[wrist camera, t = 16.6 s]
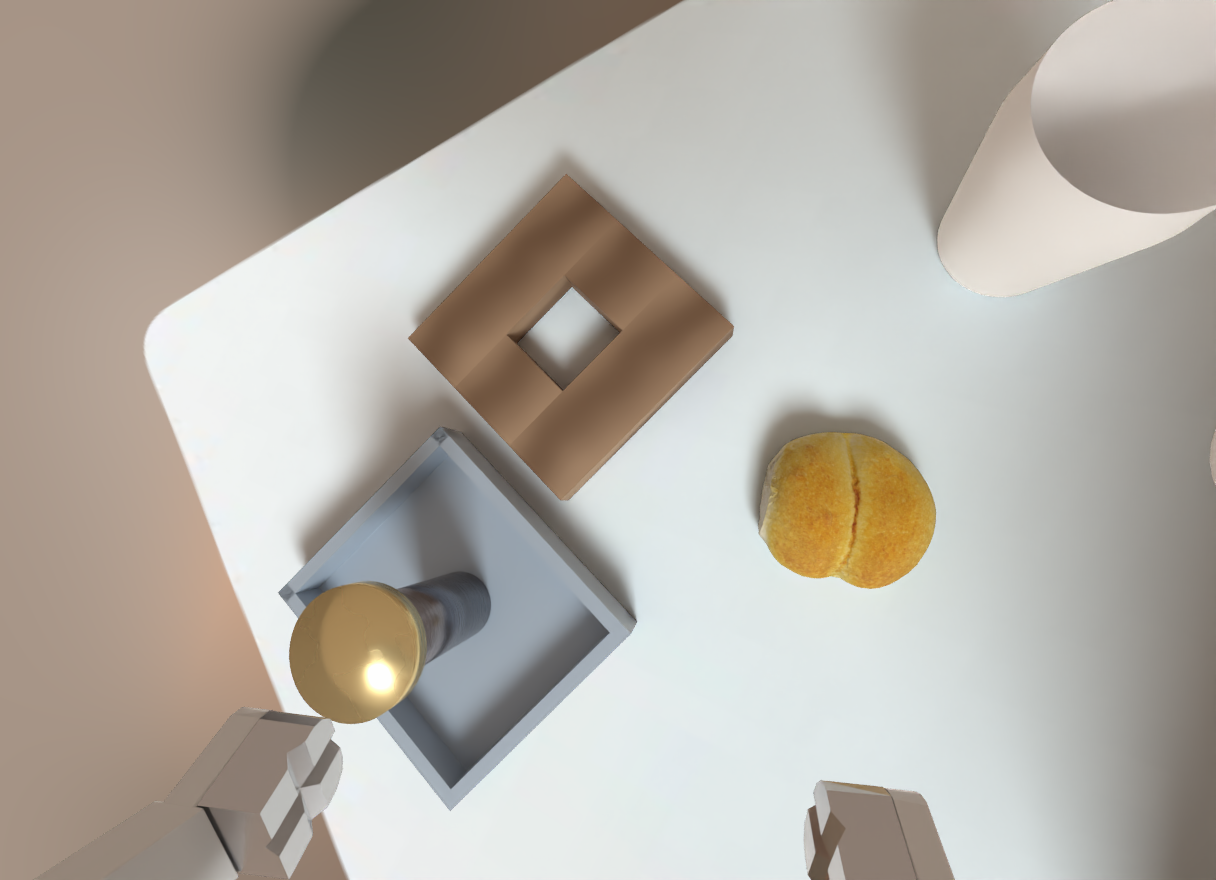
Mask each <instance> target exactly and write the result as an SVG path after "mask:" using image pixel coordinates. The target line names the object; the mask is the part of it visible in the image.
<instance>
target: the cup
mask: <svg viewBox="0 0 1216 880" xmlns="http://www.w3.org/2000/svg"><path fill="white" fill-rule="evenodd" d="M1215 209H1216V0H1114V1H1111V2H1109V3H1106V4H1104V5H1102V6H1100V7H1098V8H1096V9H1094V10H1092V11H1091V12H1089V13H1087V14H1086V15H1084V16H1083V17H1081V18H1080V19H1078V20H1077V21H1076V22H1074V23H1073V24H1072V25H1071V26H1070V27H1068V28H1067V29H1066V30H1065V31H1064V32H1063V33H1062V34H1061V35H1060V36H1059V37H1058V38H1057V40H1056V41H1055V42H1054V43H1053V44H1052V45H1051V46H1050V48H1049V49H1048V50H1047V51H1046V52H1045V53H1044V55H1043V56H1042V57H1041V58H1040V59H1039V60H1038V61H1037V63H1036V64H1035V65H1034V66H1033V67H1032V68H1031V69H1030V71H1029V72H1028V73H1027V74H1026V75H1025V76H1024V77H1023V78H1022V79H1021V80H1020V81H1019V82H1018V83H1017V85H1016V86H1015V87H1014V88H1013V89H1012V91H1011V92H1010V93H1009V94H1008V96H1007V97H1006V99H1005V100H1004V102H1003V103H1002V105H1001V106H1000V108H999V110H998V111H997V113H996V115H995V117H994V119H993V121H992V123H991V125H990V127H989V129H988V131H987V133H986V135H985V136H984V138H983V140H982V142H981V144H980V146H979V148H978V150H977V152H976V154H975V156H974V158H973V160H972V162H971V164H970V166H969V168H968V170H967V172H966V174H965V176H964V178H963V179H962V181H961V183H960V185H959V187H958V189H957V191H956V193H955V195H954V197H953V199H952V201H951V203H950V205H949V207H948V209H947V211H946V213H945V215H944V217H943V219H942V221H941V223H940V226H939V230H938V235H937V247H938V253H939V256H940V259H941V262H942V264H943V266H944V267H945V269H946V270H947V272H948V273H949V274H950V276H951V277H952V278H953V279H954V280H955V281H956V282H958V283H959V284H960V285H962V286H963V287H965V288H967V289H968V290H970V291H973V292H975V293H978V294H981V295H985V296H991V297H1011V296H1016V295H1021V294H1024V293H1027V292H1029V291H1032V290H1035V289H1038V288H1040V287H1043V286H1046V285H1048V284H1051V283H1054V282H1057V281H1059V280H1062V279H1065V278H1067V277H1070V276H1073V275H1076V274H1078V273H1081V272H1084V271H1087V270H1089V269H1092V268H1095V267H1097V266H1100V265H1103V264H1106V263H1108V262H1111V261H1114V260H1116V259H1119V258H1122V257H1125V256H1127V255H1130V254H1133V253H1135V252H1138V251H1141V250H1143V249H1146V248H1149V247H1151V246H1154V245H1156V244H1158V243H1161V242H1163V241H1165V240H1167V239H1169V238H1171V237H1173V236H1175V235H1177V234H1179V233H1181V232H1183V231H1184V230H1186V229H1187V228H1189V227H1190V226H1192V225H1193V224H1195V223H1196V222H1197V221H1199V220H1200V219H1201V218H1203V217H1204V216H1206V215H1207V214H1209V213H1210V212H1212V211H1213V210H1215Z"/></svg>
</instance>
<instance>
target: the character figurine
mask: <svg viewBox="0 0 1216 880" xmlns="http://www.w3.org/2000/svg"><path fill="white" fill-rule="evenodd" d="M1210 466H1211V473H1212V478H1213V481H1214V483H1215V486H1216V429H1215V433H1214V436H1213V439H1212V442H1211V450H1210Z"/></svg>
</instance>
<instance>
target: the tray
mask: <svg viewBox="0 0 1216 880" xmlns="http://www.w3.org/2000/svg"><path fill="white" fill-rule="evenodd" d="M457 571H462V572H468V573H471V574H473V575H475V576H476V577H478V578H479V579H480V580H481V581H482V582H483V583H484V585H485V586H486V588H487V590H488V592H489V595H490V599H491V612H490V616H489V619H488V621H487V623H486V624H485V626H484V627H483V628H482V630H481V631H479V632H478V633H477V634H475V635H474V636H472V637H471V638H469V639H467V640H466V641H464V642H462V643H461V644H459V645H457V646H456V647H454V648H452V649H451V650H449V651H448V652H446V653H444V654H443V655H441V656H439V657H438V658H436V659H434V660H433V661H431V662H429V663H428V664H426V665H424V668H423V671H422V674H421V676H420V678H419V680H418V682H417V684H416V685H415V687H414V688H413V690H412V691H411V692H410V693H409V695H408V696H407V697H406V698H404V699H403V700H402V701H401V702H400V703H398V704H397V705H395V706H394V707H392V708H391V709H389V710H388V711H386V712H385V713H383V714H382V715H380V716H379V717H377V719H378V720H379V721H380V723H381V724H382V725H383V727H384V728H385V729H386V730H387V732H388V733H389V734H390V735H391V737H392V738H393V739H394V741H395V742H396V743H397V744H398V746H399V747H400V748H401V749H402V751H403V752H404V753H405V754H406V756H407V757H408V758H409V760H410V761H411V762H412V763H413V765H414V766H415V767H416V768H417V770H418V771H419V772H420V774H421V775H422V776H423V777H424V779H425V780H426V781H427V782H428V784H429V785H430V786H431V788H432V789H433V790H434V791H435V793H436V794H437V795H438V796H439V798H440V799H441V800H442V801H443V803H444V804H445V805H446V807H447V808H448V809H449V810H450V811H451V810H452V809H453V808H454V807H455V806H456V805H457V804H458V803H459V802H460V801H461V800H462V799H463V798H464V797H465V796H466V795H467V794H468V793H469V792H470V791H471V790H472V789H473V788H474V787H475V786H476V785H477V784H478V783H479V782H480V781H481V780H482V779H483V778H484V777H485V776H486V775H487V774H488V773H489V772H490V771H491V770H492V769H493V768H495V767H496V766H497V765H498V764H499V763H500V762H501V761H502V760H503V759H504V758H505V757H506V756H507V755H508V754H509V753H510V752H511V751H512V750H513V749H514V748H515V747H516V746H517V745H518V744H519V743H520V742H521V741H522V740H523V739H524V738H525V737H526V736H527V735H528V734H529V733H530V732H531V731H532V730H533V729H534V728H535V727H536V726H537V725H538V724H539V723H540V722H541V721H542V720H543V719H544V718H545V717H546V716H548V715H549V714H550V713H551V712H552V711H553V710H554V709H555V708H556V707H557V706H558V705H559V704H560V703H561V702H562V701H563V700H564V699H565V698H566V697H567V696H568V695H569V694H570V693H571V692H572V691H573V690H574V689H575V688H576V687H577V686H578V685H579V684H580V683H581V682H582V681H583V680H584V679H585V678H586V677H587V676H588V675H589V674H590V673H591V672H592V671H593V670H594V669H595V668H596V667H597V666H598V665H599V664H601V663H602V662H603V661H604V660H605V659H606V658H607V657H608V656H609V655H610V654H611V653H612V652H613V651H614V650H615V649H616V648H617V647H618V646H619V645H620V644H621V643H622V642H623V641H624V640H625V639H626V638H627V637H628V636H629V635H630V634H631V632H632V631H633V629H634V627H635V625H636V623H637V622H636V620H635V619H634V618H633V617H632V616H631V615H630V614H629V613H628V612H627V611H626V610H625V609H624V608H623V606H622V605H621V604H620V603H619V602H618V601H617V600H616V599H615V598H614V597H613V596H612V595H611V593H610V592H609V591H608V590H607V589H606V588H605V587H604V586H603V585H602V584H601V583H600V582H599V581H598V579H597V578H596V577H595V576H594V575H593V574H592V573H591V572H590V571H589V570H588V569H587V568H586V566H585V565H584V564H583V563H582V562H581V561H580V560H579V559H578V558H577V557H576V556H575V555H574V553H573V552H572V551H571V550H570V549H569V548H568V547H567V546H566V545H565V544H564V543H563V542H562V541H561V539H560V538H559V537H558V536H557V535H556V534H555V533H554V532H553V531H552V530H551V529H550V528H549V526H548V525H547V524H546V523H545V522H544V521H543V520H542V519H541V518H540V517H539V516H538V515H537V514H536V512H535V511H534V510H533V509H532V508H531V507H530V506H529V505H528V504H527V503H526V502H525V501H524V499H523V498H522V497H521V496H520V495H519V494H518V493H517V492H516V491H515V490H514V489H513V488H512V487H511V485H510V484H509V483H508V482H507V481H506V480H505V479H504V478H503V477H502V476H501V475H500V474H499V472H498V471H497V470H496V469H495V468H494V467H493V466H492V465H491V464H490V463H489V462H488V461H487V460H486V458H485V457H484V456H483V455H482V454H481V453H480V452H479V451H478V450H477V449H476V448H475V447H474V445H473V444H472V443H471V442H470V441H469V440H468V439H467V438H466V437H465V436H464V435H463V434H462V433H461V432H459V431H455V430H452V429H448V428H444V427H439V428H438V429H437V430H436V431H435V432H434V433H433V434H432V435H431V436H430V437H429V438H428V440H427V441H426V442H425V443H424V444H423V445H422V446H421V447H420V448H419V449H418V450H417V451H416V452H415V453H414V454H413V455H412V456H411V457H410V458H409V459H408V460H407V461H406V462H405V463H404V464H403V465H402V466H401V467H400V468H399V469H398V470H397V471H396V472H395V473H394V474H393V475H392V476H391V477H390V478H389V480H388V481H387V482H386V483H385V484H384V485H383V486H382V487H381V488H380V489H379V490H378V491H377V492H376V493H375V494H374V495H373V496H372V497H371V498H370V499H369V500H368V501H367V502H366V503H365V504H364V505H363V506H362V507H361V508H360V509H359V510H358V511H357V512H356V513H355V514H354V515H353V516H352V517H351V518H350V519H349V521H348V522H347V523H346V524H345V525H344V526H343V527H342V528H341V529H340V530H339V531H338V532H337V533H336V534H335V535H334V536H333V537H332V538H331V539H330V540H329V541H328V542H327V543H326V544H325V545H324V546H323V547H322V548H321V549H320V550H319V551H318V552H317V553H316V554H315V555H314V556H313V557H312V558H311V559H310V561H309V562H308V563H307V564H306V565H305V566H304V567H303V568H302V569H301V570H300V571H299V572H298V573H297V574H296V575H295V576H294V577H293V578H292V579H291V580H290V581H289V582H288V583H287V584H286V585H285V586H284V587H283V588H282V589H281V590H280V591H279V592H278V593H279V594H280V596H281V597H282V598H283V600H284V601H285V602H286V603H287V605H288V606H289V607H290V608H291V610H292V611H293V612H294V614H295V615H296V616H297V617H298V619H299V617H300V615H301V614H302V612H303V611H304V609H305V608H306V607H307V606H308V605H309V603H310V602H312V601H313V600H314V599H315V598H316V597H317V596H319V595H320V594H322V593H324V592H326V591H328V590H330V589H332V588H335V587H338V586H342V585H347V584H351V583H355V582H360V581H375V582H380V583H384V584H387V585H389V586H392V587H393V588H395V589H398V588H402V587H405V586H408V585H412V584H415V583H418V582H422V581H425V580H428V579H432V578H435V577H438V576H442V575H445V574H448V573H452V572H457Z"/></svg>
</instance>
